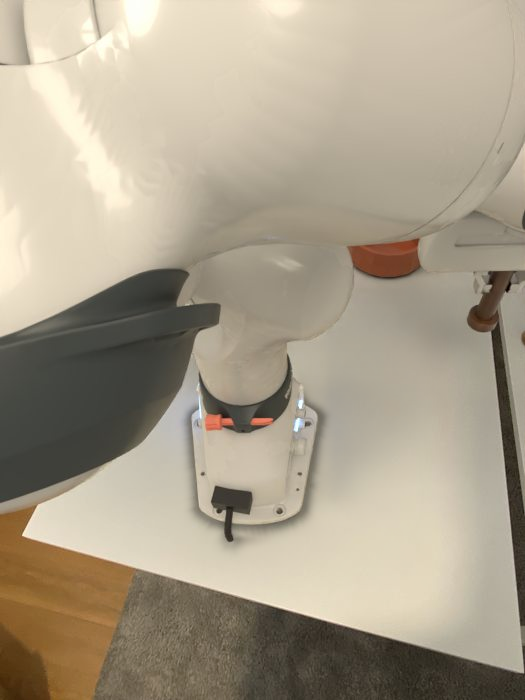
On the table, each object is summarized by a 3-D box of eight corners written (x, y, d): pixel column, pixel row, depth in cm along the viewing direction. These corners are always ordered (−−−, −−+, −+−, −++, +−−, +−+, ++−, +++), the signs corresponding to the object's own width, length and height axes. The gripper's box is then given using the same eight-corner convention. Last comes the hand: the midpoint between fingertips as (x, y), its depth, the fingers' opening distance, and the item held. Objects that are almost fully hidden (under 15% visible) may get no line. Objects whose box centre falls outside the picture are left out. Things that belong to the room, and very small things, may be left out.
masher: (498, 332, 64) (534, 260, 54) (469, 333, 64) (500, 261, 54) (492, 311, 66) (525, 238, 56) (463, 311, 66) (492, 238, 56)
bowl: (431, 278, 88) (438, 253, 83) (348, 281, 90) (351, 256, 85) (418, 224, 97) (424, 199, 92) (343, 227, 98) (345, 202, 93)
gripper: (435, 216, 48) (411, 311, 59) (662, 209, 46) (593, 308, 57) (425, 176, 51) (404, 272, 63) (634, 168, 50) (574, 268, 61)
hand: (495, 289), depth 60 cm, fingers closed on masher, 2 cm apart
